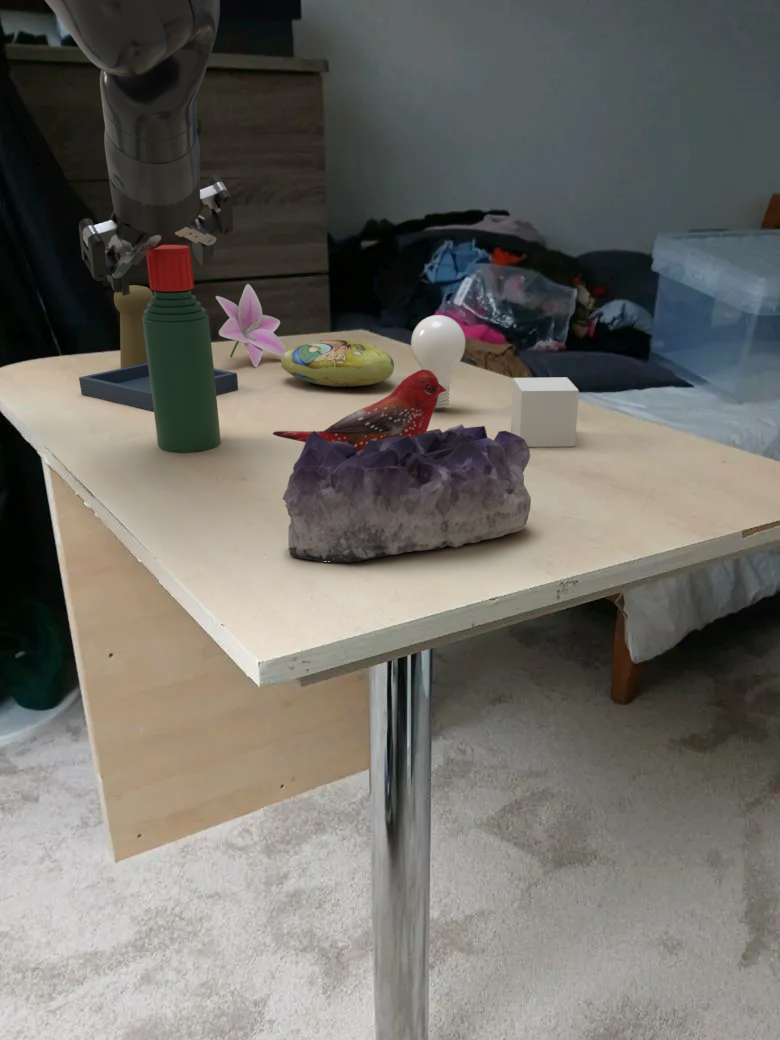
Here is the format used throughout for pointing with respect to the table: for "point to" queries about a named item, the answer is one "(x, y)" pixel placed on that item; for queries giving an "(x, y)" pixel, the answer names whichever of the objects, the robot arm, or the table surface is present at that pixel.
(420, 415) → the decorative bird figurine
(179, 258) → the cap
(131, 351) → the cork
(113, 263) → the robot arm
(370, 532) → the geode
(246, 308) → the lily
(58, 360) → the table surface
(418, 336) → the lightbulb
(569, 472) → the table surface
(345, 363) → the painted stone
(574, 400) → the white cube
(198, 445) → the bottle
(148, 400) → the tray
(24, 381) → the table surface
